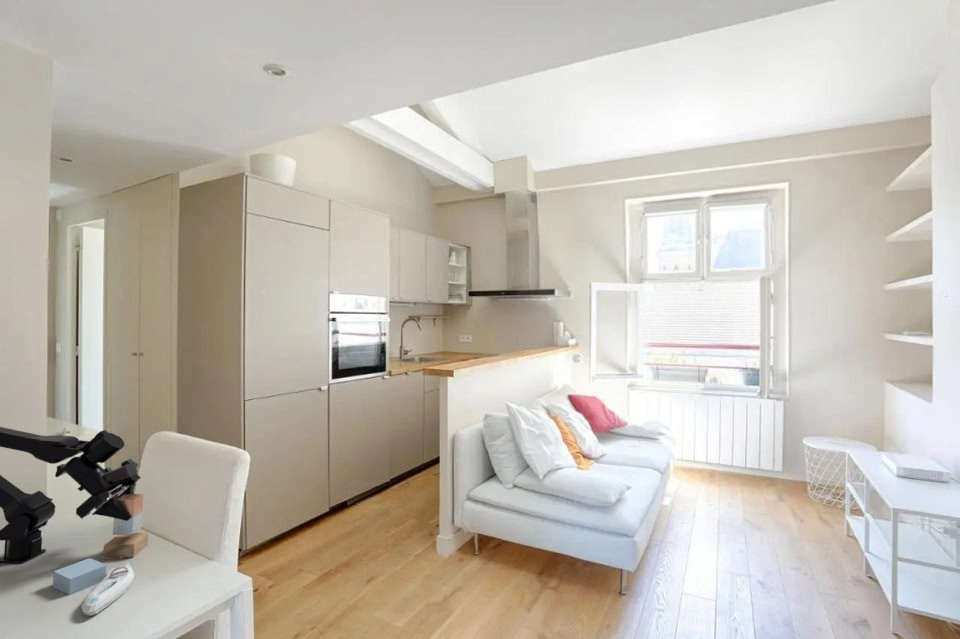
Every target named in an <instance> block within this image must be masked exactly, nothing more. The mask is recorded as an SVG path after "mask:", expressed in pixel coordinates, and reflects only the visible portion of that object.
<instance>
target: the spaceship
mask: <svg viewBox="0 0 960 639" xmlns="http://www.w3.org/2000/svg"><path fill="white" fill-rule="evenodd" d="M130 564H131V563H129V561H126V562H125V563H124V564H123V565H122V566H117V567H113V568H111V569H110V570H108V572H107V573H106V577H105V578H104V579H103V580H102V581H101V582H99V583H97V585H96V587H95V588H94V589H93V590H92V591H91V592H90V593H89V594H88V595H87V596H86V598H85V600H84V601H83V603H82V604H81V609H82V613H83V614H84V615H86V616H91V617H92V616H94V615H97V614H99V613H100V612H101V611H104V609H106V608H107V607H108V606H109V605H111V604H113V602H115V601H117V599H119V598H120V597H121V596H122V595H124V593H125V592H126V591H128V590H129V589H130V588H131V587H132V584H133V580H134V577H135V573H134V570H133V568H132V566H131V565H130Z"/></svg>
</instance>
